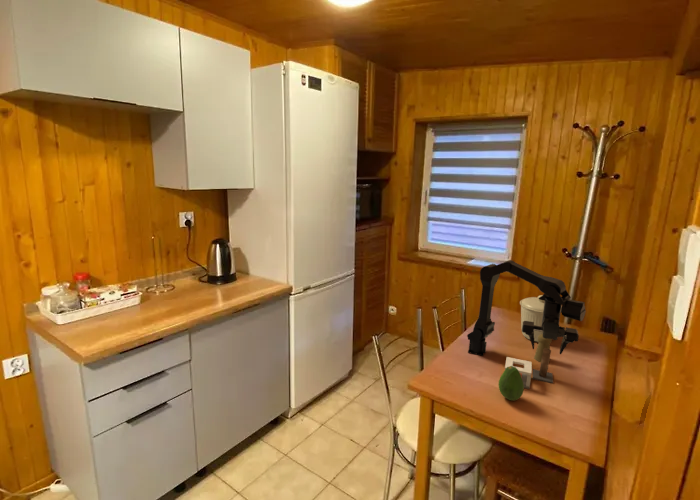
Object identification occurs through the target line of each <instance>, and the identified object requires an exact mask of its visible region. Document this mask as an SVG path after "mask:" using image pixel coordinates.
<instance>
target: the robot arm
mask: <svg viewBox="0 0 700 500" xmlns="http://www.w3.org/2000/svg"><path fill="white" fill-rule="evenodd" d="M506 272H508V273H510V274H512V275H514V276H515V277H517V278H520V279H521V280H524V281H526V282H527V283H528V284H531V285H534V286H535V287H537V289H538V290H539V292H541V293H543V294H542V295H543V296H541V297H539V299H540V300H544V301H545V302H544V310H543V317H542V325H541V326H536V325H534V322H530V321H523V325H522V329H521V333H522V332H524V333H525V334H526V335H529V337H530V339H529V340H530V342H531V347H532V350H534V349H535V341H534V330H535V331H541V332H543V338H546V339H547V338H548V339H552V340H553V341H557V340H558V338H562V340H561V344H560V347H559V355H562V354H563V352H564V350H566V349H565V348H567V346H568V345H569V344H570V343H574V342H579V331H578V330H577V329H576V328H574V327H563V326H560V320H561V319H560V318H561V316H563V317H564V318H567V319H571V320H575V321H579V322H582V321H584V318H585V316H586V313H587V311H586V306H585V303H586V302H585V301H578V300H574V299H571V298H572V296H571V295H570V294H569V292H568V291H567V287H566V284H565V282H564V281H563V280H561V279H560V278H559V279H558V278H556V277H551V276H546V275H542V274H540V273H538V272H536V271H534V270H532V269H530V268H528V267H525V266H524V265H521V264H519V263H517V262H515V261H514V260H512V259H508V260H506V261H504V262H501V263H499V264H498V263H497V264H496V263H491V264H487V265H485V266H483V267H481V269H480V270H479V279H480V282H481V285H482V286H481V287H482V288H481V294H480V305H479V313H478V316H477V317H478V318H477V320H476V321H475V324H474V326H473V329H472V331H471V332H469V333H468V334H467V335H466V337H467V340H469V341H468V342H469V343H468V350H467V353H468V354H472V355H478V356H484V355H485V353H486V352H487V341H486V338H488V336H490V335H492V333H493V332H494V331H495V324H496V322H495V321H493V320H492V318H491V315H492V307H493V299H494V292H495V286H496V284H497V283H498V280H499V278H500V275H501V274H502V273H506ZM561 306H562V308H561Z"/></svg>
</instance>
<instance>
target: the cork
mask: <svg viewBox="0 0 700 500" xmlns="http://www.w3.org/2000/svg"><path fill="white" fill-rule="evenodd" d="M552 340H553V339H548V338H547V339H546V338H543V334H540V335H539V336H538V341H539V342H537V343H538V344H537V347H536V351H535V354H534V357H533V359H534V360H535V361H536V362H538V363H541V360H542V355H543V349H544V348H547V349H550V350H551V346H550V344H551V343H552ZM550 362H551V358H550V359H549V363H550Z"/></svg>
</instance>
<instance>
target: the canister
mask: <svg viewBox="0 0 700 500" xmlns="http://www.w3.org/2000/svg"><path fill="white" fill-rule="evenodd" d="M541 296H543V294H541V295H538V296H537V297H536V296H531V297H526V298H523V299H521V300H520V301H519V305H520V315H521V316H520V322H521V323H520V327H521V329H520V330H522V325H523V321H530V322H534V325H536V326H541V325H542V317H543V310H544V302H545V301H544V300H540V299H539V297H541ZM561 308H562V306H561ZM521 333H522V335H523V336H524V338H526V339H528V340H530V337H529V335H526V334H525V333H524V332H522V331H521ZM540 334H543V332H541V331H535V330H534V342H537V343H539V341H538V336H539V335H540Z"/></svg>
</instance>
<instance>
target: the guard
mask: <svg viewBox="0 0 700 500" xmlns="http://www.w3.org/2000/svg"><path fill="white" fill-rule="evenodd" d="M514 364H515V365H520V366H523V367H519V366H514ZM532 364H533V363H532V361H529V360H525V359H518V358H514V357H509V356H506V360H505V365H504V370H505V369H506V368H507V367H510V366H513V367H516V368H517V370H518V371H519V373H522V381H523V385H524V389H527V390H530V389H531V388H530V387H531V379H532V372H533V369H532V367H533V366H532Z"/></svg>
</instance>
